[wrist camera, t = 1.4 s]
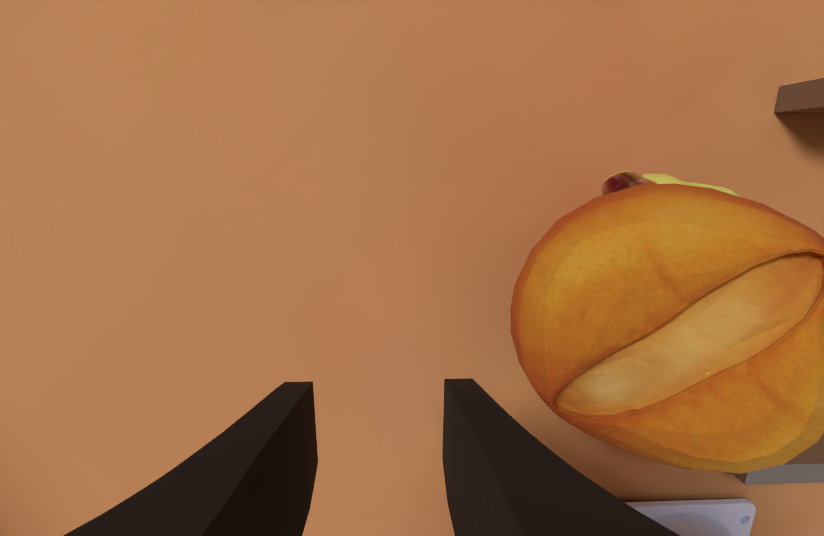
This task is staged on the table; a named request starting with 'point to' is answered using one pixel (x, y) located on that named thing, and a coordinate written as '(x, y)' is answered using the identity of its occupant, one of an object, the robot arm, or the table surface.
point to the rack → (820, 458)
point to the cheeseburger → (678, 324)
